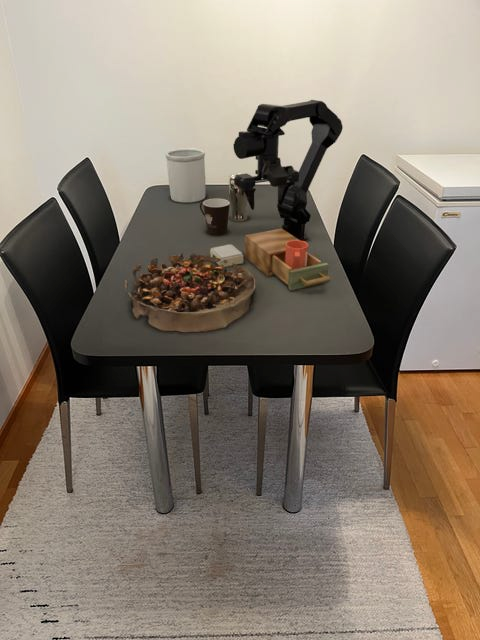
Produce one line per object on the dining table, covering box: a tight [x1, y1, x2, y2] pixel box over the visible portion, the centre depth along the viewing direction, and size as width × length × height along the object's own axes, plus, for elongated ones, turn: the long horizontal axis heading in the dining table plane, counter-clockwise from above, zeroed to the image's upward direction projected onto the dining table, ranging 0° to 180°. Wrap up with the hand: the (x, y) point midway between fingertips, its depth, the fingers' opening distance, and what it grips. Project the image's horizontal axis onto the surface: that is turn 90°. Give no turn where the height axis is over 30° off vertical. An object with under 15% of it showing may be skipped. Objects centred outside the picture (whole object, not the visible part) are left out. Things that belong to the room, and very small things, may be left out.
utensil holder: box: [165, 147, 207, 204], centre depth 193 cm, size 15×15×18 cm
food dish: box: [124, 252, 257, 333], centre depth 128 cm, size 35×33×8 cm
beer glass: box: [228, 172, 248, 222], centre depth 174 cm, size 7×7×15 cm
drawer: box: [270, 252, 331, 291], centre depth 134 cm, size 18×11×5 cm, turn 26°
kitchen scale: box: [209, 243, 244, 268], centre depth 147 cm, size 7×8×3 cm
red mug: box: [285, 240, 309, 270], centre depth 134 cm, size 8×6×8 cm
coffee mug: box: [199, 198, 231, 237], centre depth 165 cm, size 12×9×10 cm
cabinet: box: [244, 228, 298, 277], centre depth 145 cm, size 14×12×7 cm
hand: (266, 207), depth 149 cm, fingers open, 9 cm apart
